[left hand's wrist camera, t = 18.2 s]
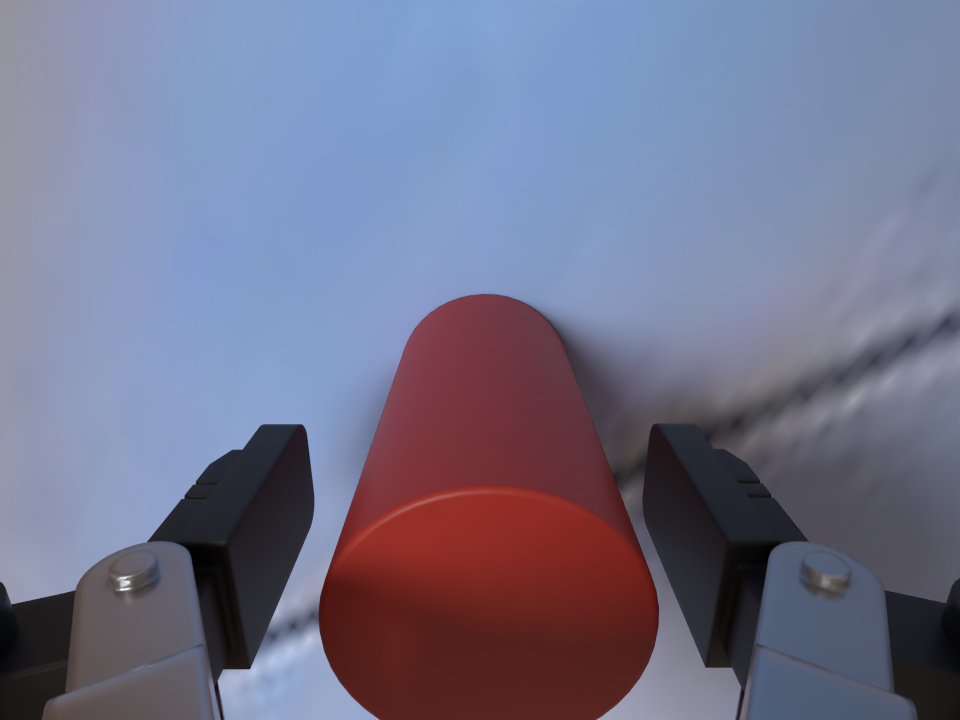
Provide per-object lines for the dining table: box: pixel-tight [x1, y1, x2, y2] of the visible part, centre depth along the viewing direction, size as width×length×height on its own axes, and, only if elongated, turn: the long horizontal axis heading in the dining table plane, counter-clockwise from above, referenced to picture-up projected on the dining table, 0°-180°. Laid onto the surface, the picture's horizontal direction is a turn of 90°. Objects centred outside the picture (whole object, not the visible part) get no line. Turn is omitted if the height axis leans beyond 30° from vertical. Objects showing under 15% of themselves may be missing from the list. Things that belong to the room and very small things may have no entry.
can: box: [319, 294, 659, 720], centre depth 12 cm, size 4×4×9 cm
